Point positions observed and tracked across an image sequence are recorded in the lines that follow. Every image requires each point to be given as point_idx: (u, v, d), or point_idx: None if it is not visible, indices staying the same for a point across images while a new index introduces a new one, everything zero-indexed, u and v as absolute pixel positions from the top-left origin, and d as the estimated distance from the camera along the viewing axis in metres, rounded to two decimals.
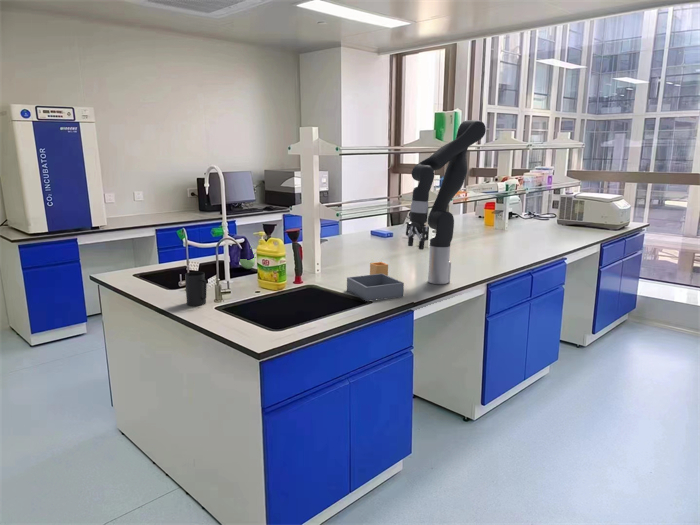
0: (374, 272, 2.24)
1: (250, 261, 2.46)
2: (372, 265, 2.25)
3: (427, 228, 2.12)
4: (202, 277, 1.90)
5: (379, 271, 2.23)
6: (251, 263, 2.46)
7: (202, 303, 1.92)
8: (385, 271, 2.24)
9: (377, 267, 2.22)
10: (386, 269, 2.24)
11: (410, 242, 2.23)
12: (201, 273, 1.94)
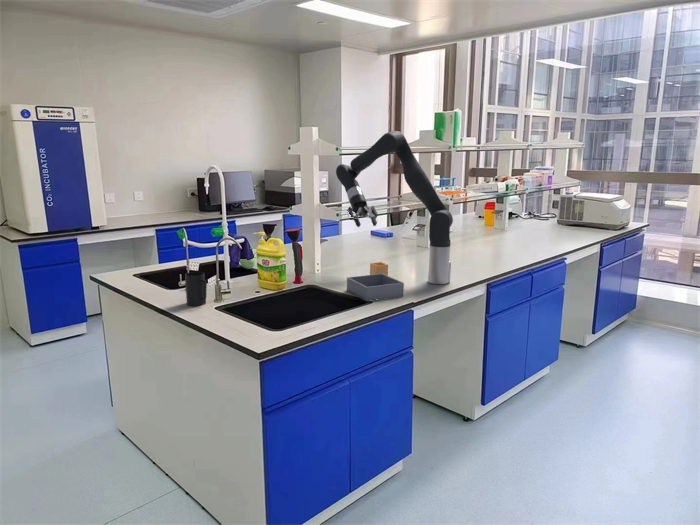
0: (374, 272, 2.24)
1: (250, 261, 2.46)
2: (372, 265, 2.25)
3: (348, 209, 2.32)
4: (202, 277, 1.90)
5: (379, 271, 2.23)
6: (251, 263, 2.46)
7: (202, 303, 1.92)
8: (385, 271, 2.24)
9: (377, 267, 2.22)
10: (386, 269, 2.24)
11: (373, 222, 2.34)
12: (201, 273, 1.94)
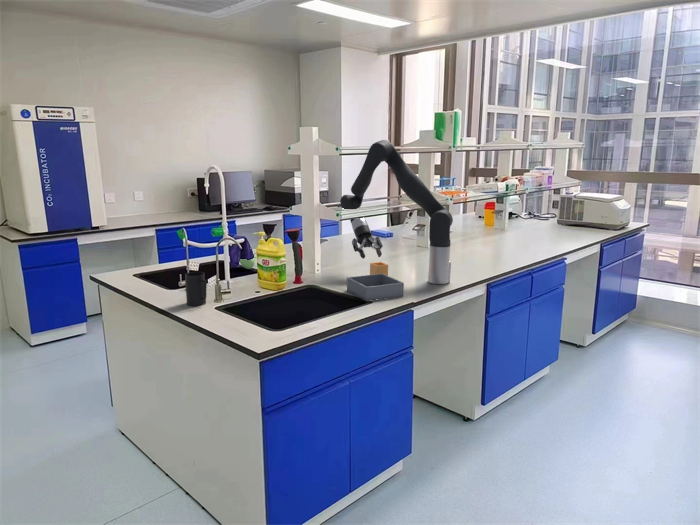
0: (374, 272, 2.24)
1: (250, 261, 2.46)
2: (372, 265, 2.25)
3: (353, 240, 2.32)
4: (202, 277, 1.90)
5: (379, 271, 2.23)
6: (251, 263, 2.46)
7: (202, 303, 1.92)
8: (385, 271, 2.24)
9: (377, 267, 2.22)
10: (386, 269, 2.24)
11: (378, 253, 2.33)
12: (201, 273, 1.94)
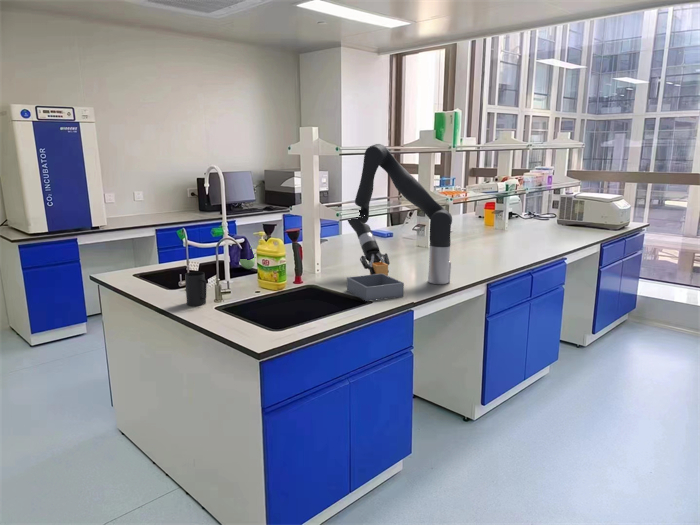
0: None
1: (250, 261, 2.46)
2: None
3: (361, 258, 2.26)
4: (202, 277, 1.90)
5: (379, 271, 2.23)
6: (251, 263, 2.46)
7: (202, 303, 1.92)
8: (385, 271, 2.24)
9: (377, 267, 2.22)
10: (386, 269, 2.24)
11: None
12: (201, 273, 1.94)
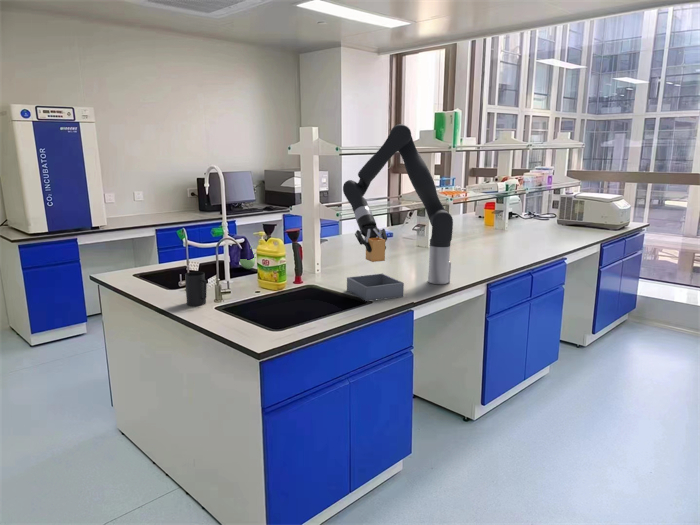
0: None
1: (250, 261, 2.46)
2: None
3: (356, 232, 2.09)
4: (202, 277, 1.90)
5: (375, 247, 2.06)
6: (251, 263, 2.46)
7: (202, 303, 1.92)
8: (382, 247, 2.07)
9: (373, 242, 2.05)
10: (383, 245, 2.07)
11: None
12: (201, 273, 1.94)
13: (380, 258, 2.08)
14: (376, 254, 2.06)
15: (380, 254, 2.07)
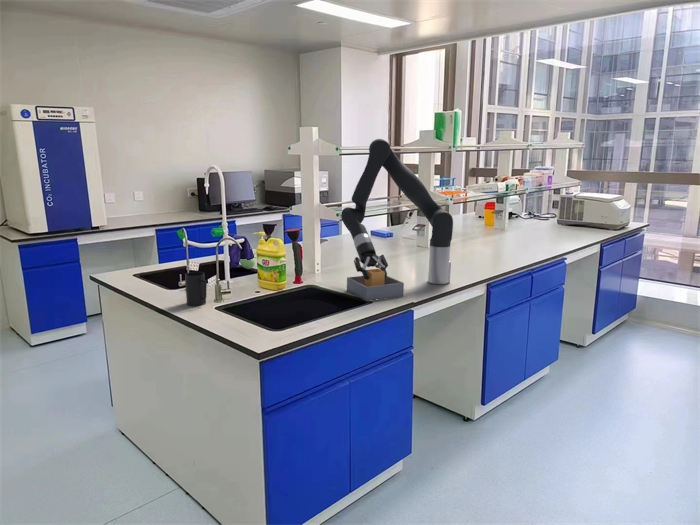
0: (369, 280, 2.07)
1: (250, 261, 2.46)
2: (367, 272, 2.08)
3: (355, 259, 2.09)
4: (202, 277, 1.90)
5: (375, 279, 2.06)
6: (251, 263, 2.46)
7: (202, 303, 1.92)
8: (381, 279, 2.07)
9: (373, 275, 2.05)
10: (382, 277, 2.07)
11: None
12: (201, 273, 1.94)
13: None
14: None
15: None
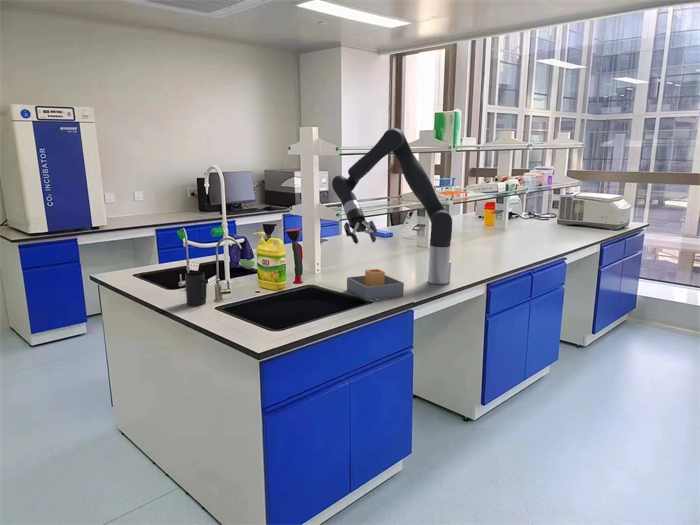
0: (369, 280, 2.07)
1: (250, 261, 2.46)
2: (367, 272, 2.08)
3: (345, 224, 2.16)
4: (202, 277, 1.90)
5: (375, 279, 2.06)
6: (251, 263, 2.46)
7: (202, 303, 1.92)
8: (381, 279, 2.07)
9: (373, 275, 2.05)
10: (382, 277, 2.07)
11: (372, 238, 2.18)
12: (201, 273, 1.94)
13: None
14: None
15: None
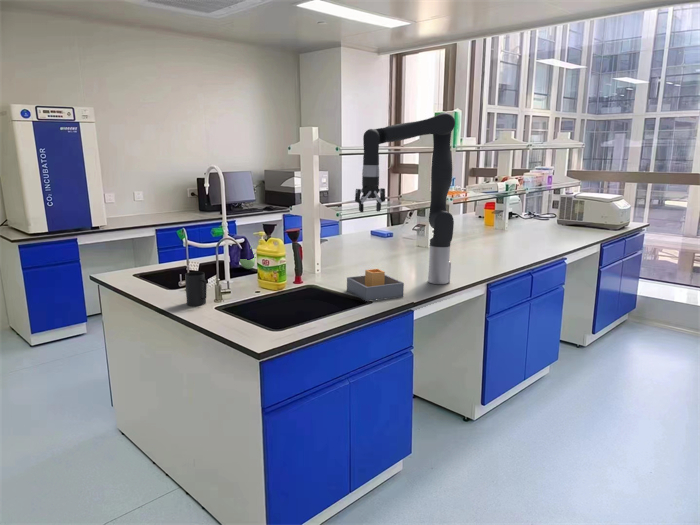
0: (369, 280, 2.07)
1: (250, 261, 2.46)
2: (367, 272, 2.08)
3: (357, 190, 2.19)
4: (202, 277, 1.90)
5: (375, 279, 2.06)
6: (251, 263, 2.46)
7: (202, 303, 1.92)
8: (381, 279, 2.07)
9: (373, 275, 2.05)
10: (382, 277, 2.07)
11: (377, 207, 2.26)
12: (201, 273, 1.94)
13: None
14: None
15: None
